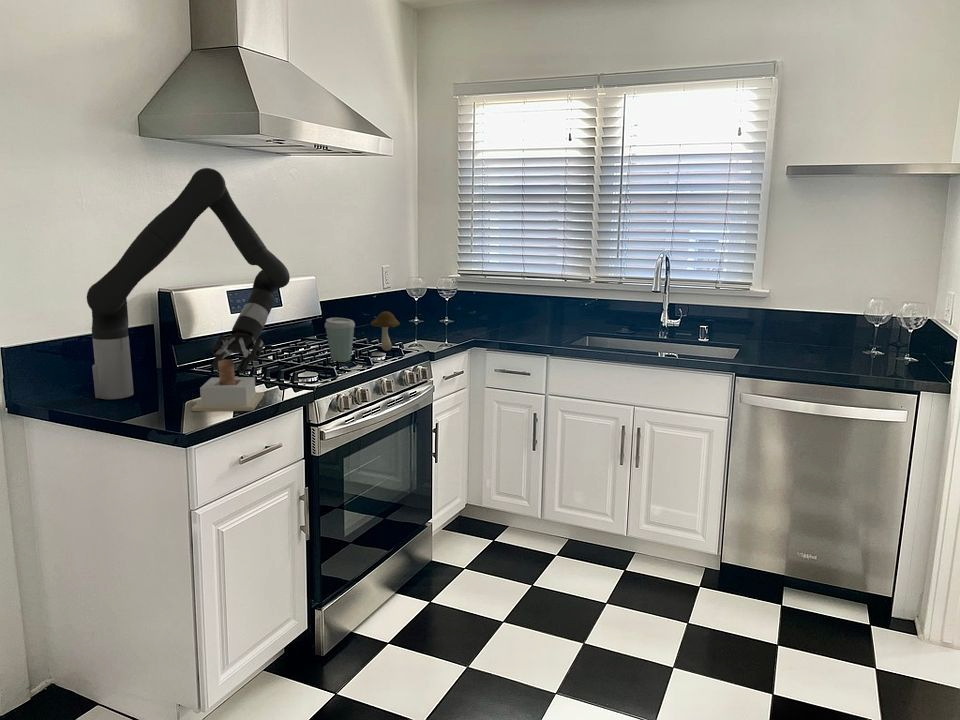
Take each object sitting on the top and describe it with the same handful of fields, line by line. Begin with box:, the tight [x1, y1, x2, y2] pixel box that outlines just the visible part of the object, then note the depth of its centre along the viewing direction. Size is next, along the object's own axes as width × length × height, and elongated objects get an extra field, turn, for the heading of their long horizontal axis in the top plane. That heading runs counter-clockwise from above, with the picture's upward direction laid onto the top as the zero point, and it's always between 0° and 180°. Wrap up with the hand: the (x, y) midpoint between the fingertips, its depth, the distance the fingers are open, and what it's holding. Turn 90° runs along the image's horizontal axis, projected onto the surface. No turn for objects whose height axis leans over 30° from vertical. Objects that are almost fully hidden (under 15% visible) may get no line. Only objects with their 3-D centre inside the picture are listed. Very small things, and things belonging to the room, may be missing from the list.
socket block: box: [191, 376, 265, 412], centre depth 209 cm, size 16×16×6 cm
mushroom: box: [370, 310, 401, 352], centre depth 282 cm, size 9×11×15 cm
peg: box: [218, 358, 236, 385], centre depth 208 cm, size 4×4×11 cm
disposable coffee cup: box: [324, 317, 356, 363], centre depth 263 cm, size 11×11×15 cm
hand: (227, 369), depth 208 cm, fingers open, 8 cm apart
